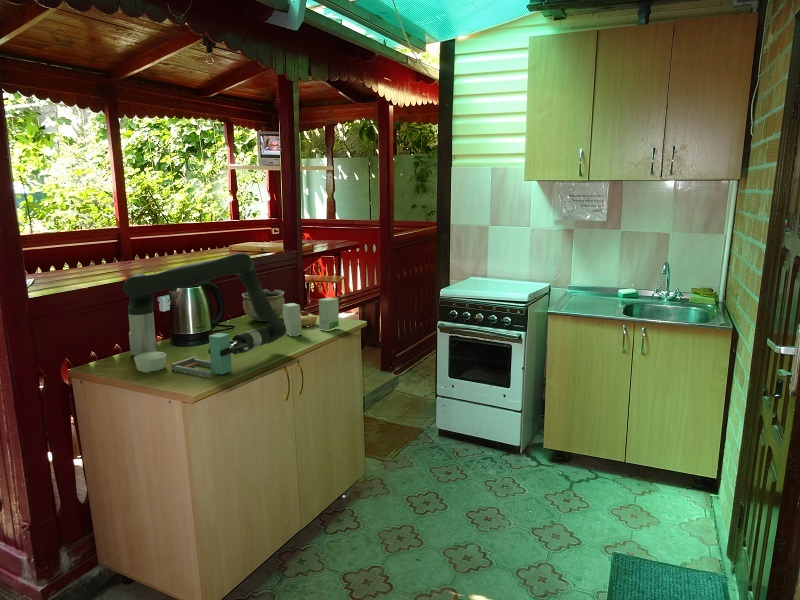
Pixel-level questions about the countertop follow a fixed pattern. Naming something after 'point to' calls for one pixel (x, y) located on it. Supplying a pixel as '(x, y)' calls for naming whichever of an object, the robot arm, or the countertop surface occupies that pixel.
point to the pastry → (307, 318)
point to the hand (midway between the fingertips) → (215, 352)
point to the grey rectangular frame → (190, 362)
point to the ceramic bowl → (274, 299)
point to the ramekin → (150, 361)
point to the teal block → (219, 362)
